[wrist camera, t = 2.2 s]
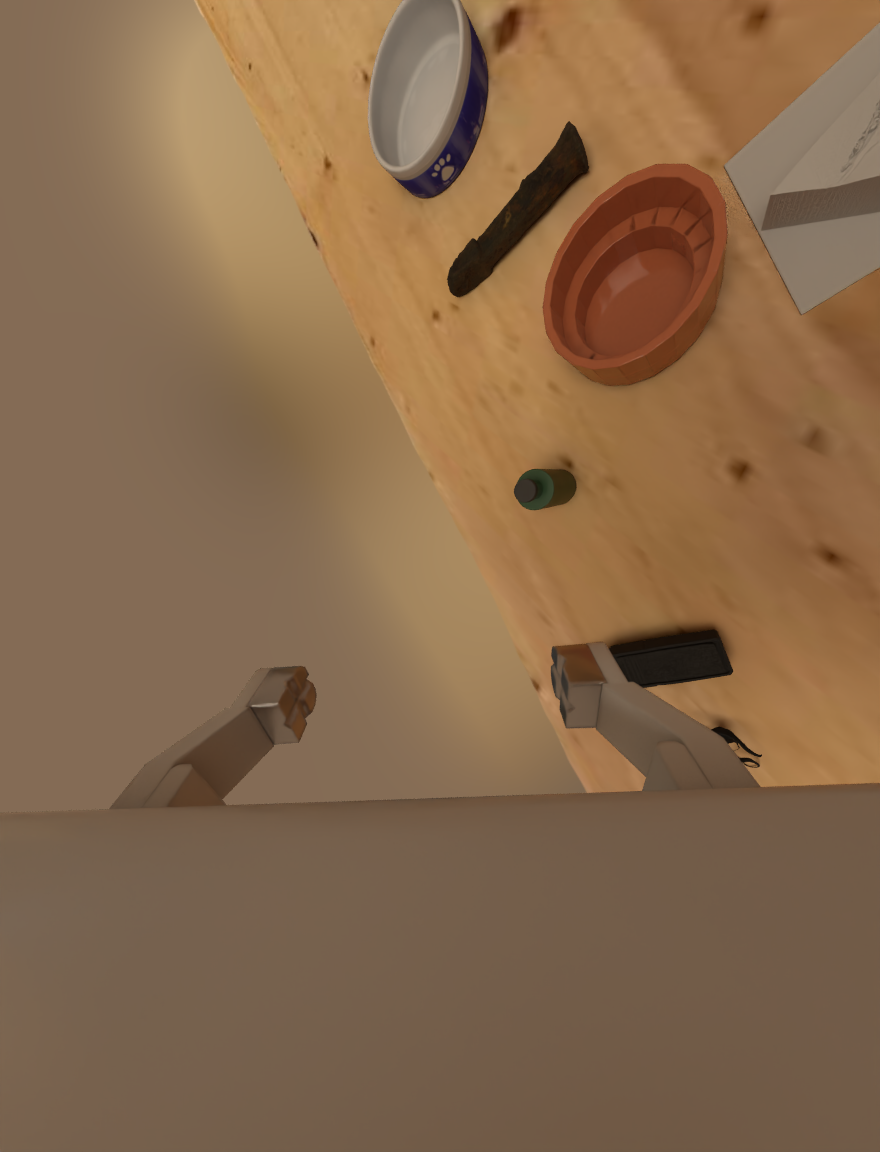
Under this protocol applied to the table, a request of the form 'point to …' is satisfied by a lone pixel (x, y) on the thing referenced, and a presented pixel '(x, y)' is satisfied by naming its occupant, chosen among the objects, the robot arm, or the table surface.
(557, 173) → the dark brown rough bar
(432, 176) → the dog bowl
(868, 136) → the ramp
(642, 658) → the walkie-talkie
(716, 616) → the table surface
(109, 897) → the robot arm
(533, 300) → the table surface
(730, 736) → the creature
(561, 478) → the plant food bottle
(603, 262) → the pot
